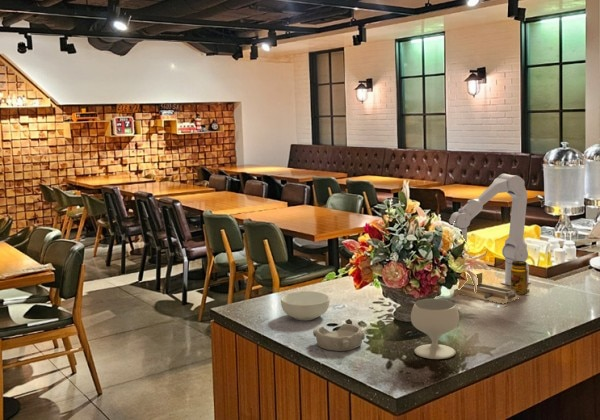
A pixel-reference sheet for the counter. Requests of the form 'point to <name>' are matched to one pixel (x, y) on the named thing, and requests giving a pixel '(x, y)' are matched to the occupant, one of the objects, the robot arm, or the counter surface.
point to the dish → (339, 338)
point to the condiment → (519, 277)
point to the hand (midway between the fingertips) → (459, 277)
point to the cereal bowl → (305, 304)
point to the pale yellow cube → (479, 276)
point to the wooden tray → (488, 293)
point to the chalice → (435, 325)
